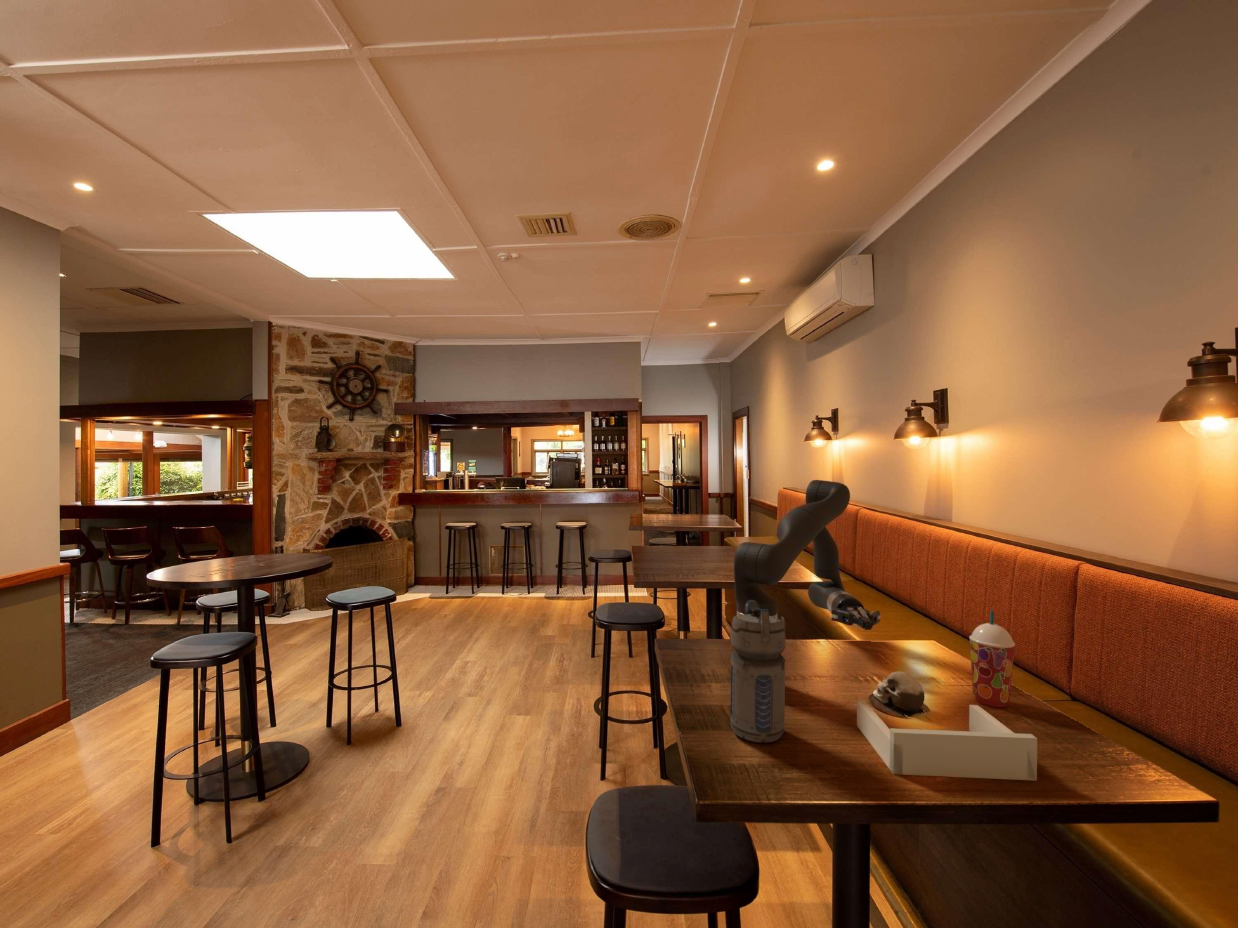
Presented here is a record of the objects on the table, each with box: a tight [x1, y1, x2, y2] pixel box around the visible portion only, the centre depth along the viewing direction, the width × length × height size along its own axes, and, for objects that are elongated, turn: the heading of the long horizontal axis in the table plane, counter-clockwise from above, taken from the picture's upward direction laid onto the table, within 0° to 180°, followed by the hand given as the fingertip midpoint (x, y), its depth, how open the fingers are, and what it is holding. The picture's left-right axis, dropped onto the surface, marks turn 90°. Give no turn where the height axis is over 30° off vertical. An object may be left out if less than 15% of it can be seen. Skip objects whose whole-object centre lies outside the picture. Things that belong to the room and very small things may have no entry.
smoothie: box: [968, 610, 1016, 708], centre depth 124 cm, size 8×8×20 cm
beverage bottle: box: [729, 600, 786, 744], centre depth 110 cm, size 10×13×25 cm
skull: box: [868, 670, 931, 720], centre depth 122 cm, size 12×10×10 cm
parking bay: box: [856, 700, 1038, 782], centre depth 103 cm, size 23×18×7 cm
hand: (868, 625), depth 138 cm, fingers closed
